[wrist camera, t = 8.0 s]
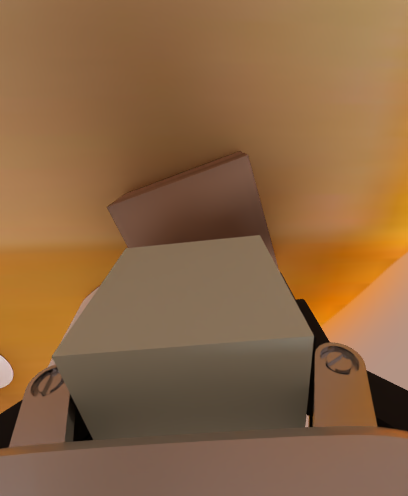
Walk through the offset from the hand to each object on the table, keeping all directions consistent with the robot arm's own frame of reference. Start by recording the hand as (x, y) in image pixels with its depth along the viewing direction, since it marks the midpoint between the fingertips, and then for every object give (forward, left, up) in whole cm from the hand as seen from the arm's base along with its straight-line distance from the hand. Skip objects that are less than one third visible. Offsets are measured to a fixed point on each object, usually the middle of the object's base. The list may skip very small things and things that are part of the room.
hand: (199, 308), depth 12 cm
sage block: (0, 0, -1) cm, 1 cm away
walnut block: (0, 0, -10) cm, 10 cm away
